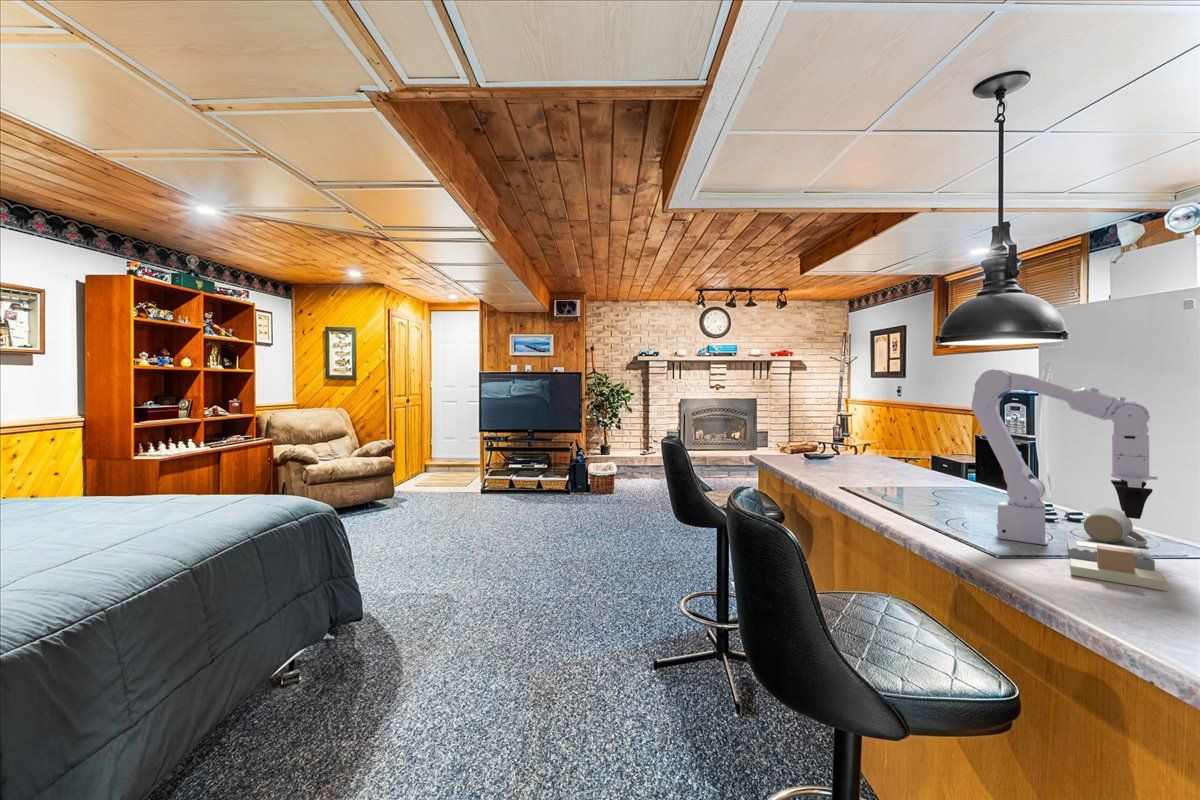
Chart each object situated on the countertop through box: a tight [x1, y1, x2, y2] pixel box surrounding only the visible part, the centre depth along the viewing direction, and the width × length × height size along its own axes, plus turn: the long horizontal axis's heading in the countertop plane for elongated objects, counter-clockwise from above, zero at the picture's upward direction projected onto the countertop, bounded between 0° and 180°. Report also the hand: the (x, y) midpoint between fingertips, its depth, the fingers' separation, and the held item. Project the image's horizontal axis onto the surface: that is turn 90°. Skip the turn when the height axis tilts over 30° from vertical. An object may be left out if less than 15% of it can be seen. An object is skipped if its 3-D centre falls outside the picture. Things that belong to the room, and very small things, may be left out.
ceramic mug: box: [1083, 507, 1149, 548], centre depth 122 cm, size 11×8×8 cm
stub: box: [1069, 545, 1168, 592], centre depth 98 cm, size 13×6×6 cm, turn 48°
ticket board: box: [1066, 538, 1156, 571], centre depth 110 cm, size 13×10×2 cm
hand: (1130, 514), depth 111 cm, fingers open, 7 cm apart
